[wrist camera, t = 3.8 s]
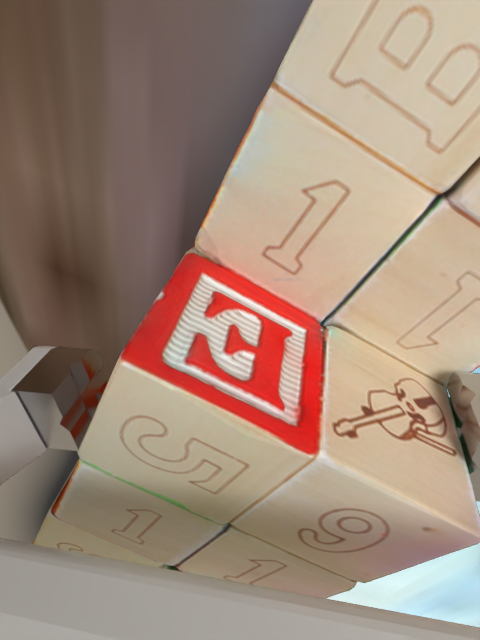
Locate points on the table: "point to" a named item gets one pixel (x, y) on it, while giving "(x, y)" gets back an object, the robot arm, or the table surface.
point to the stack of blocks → (310, 329)
